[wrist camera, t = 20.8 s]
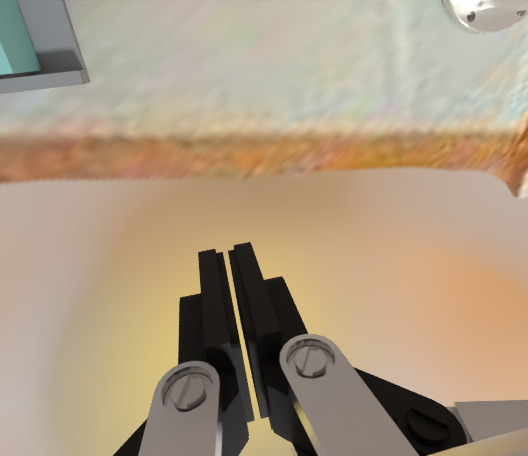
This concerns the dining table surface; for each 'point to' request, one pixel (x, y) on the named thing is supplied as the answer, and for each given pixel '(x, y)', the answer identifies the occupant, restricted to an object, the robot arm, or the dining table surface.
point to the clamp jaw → (15, 41)
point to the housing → (48, 49)
